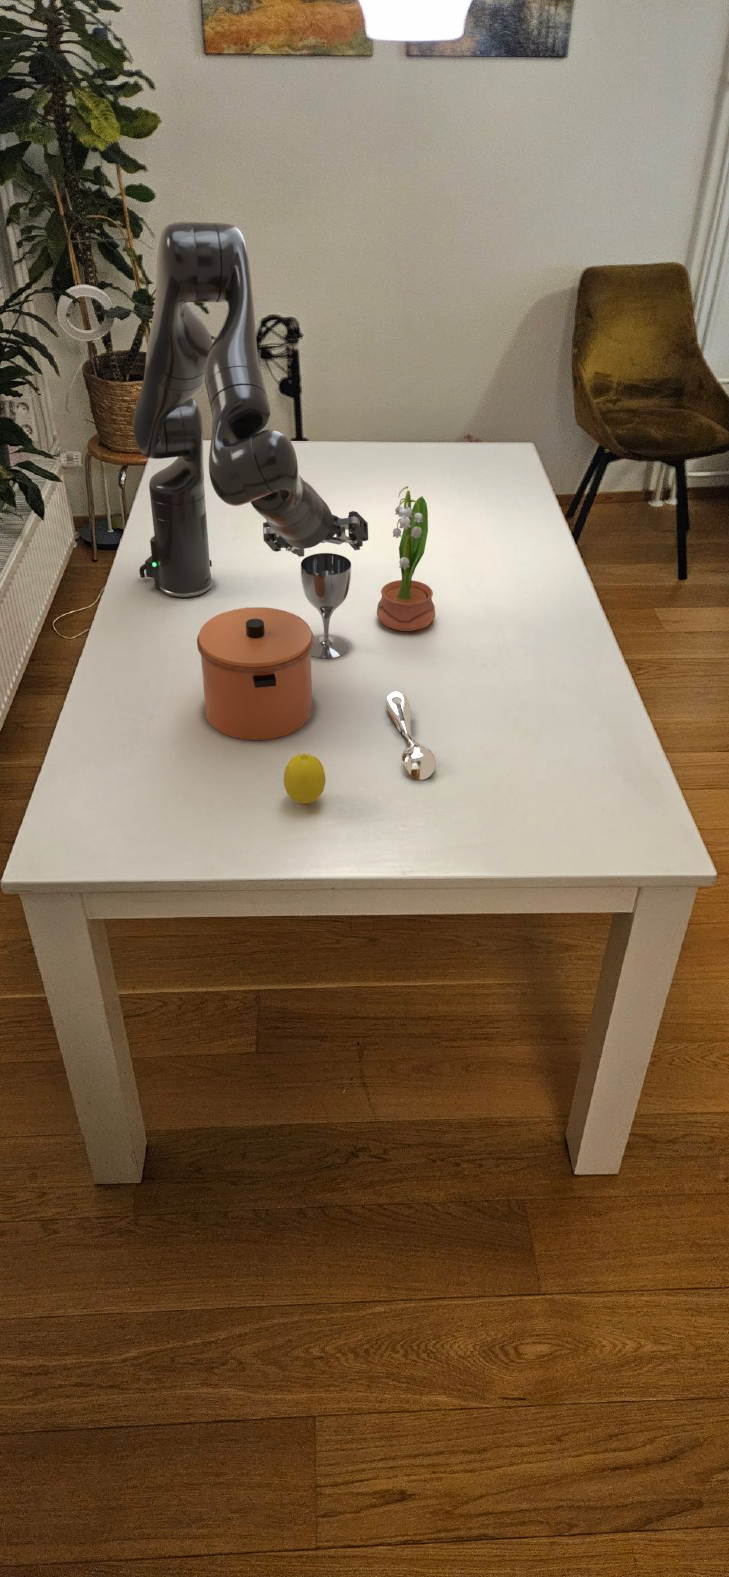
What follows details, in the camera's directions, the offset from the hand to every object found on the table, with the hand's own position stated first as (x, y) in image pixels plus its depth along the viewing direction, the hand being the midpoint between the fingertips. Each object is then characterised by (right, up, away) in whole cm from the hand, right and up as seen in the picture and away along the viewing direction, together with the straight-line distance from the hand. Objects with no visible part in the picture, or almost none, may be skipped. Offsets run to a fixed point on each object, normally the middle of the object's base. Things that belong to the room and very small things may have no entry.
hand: (329, 547), depth 162 cm
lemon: (-3, -38, -14) cm, 40 cm away
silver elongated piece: (+12, -29, -1) cm, 31 cm away
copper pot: (-11, -24, +4) cm, 26 cm away
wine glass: (-1, -13, +19) cm, 23 cm away
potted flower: (+12, -8, +26) cm, 30 cm away
